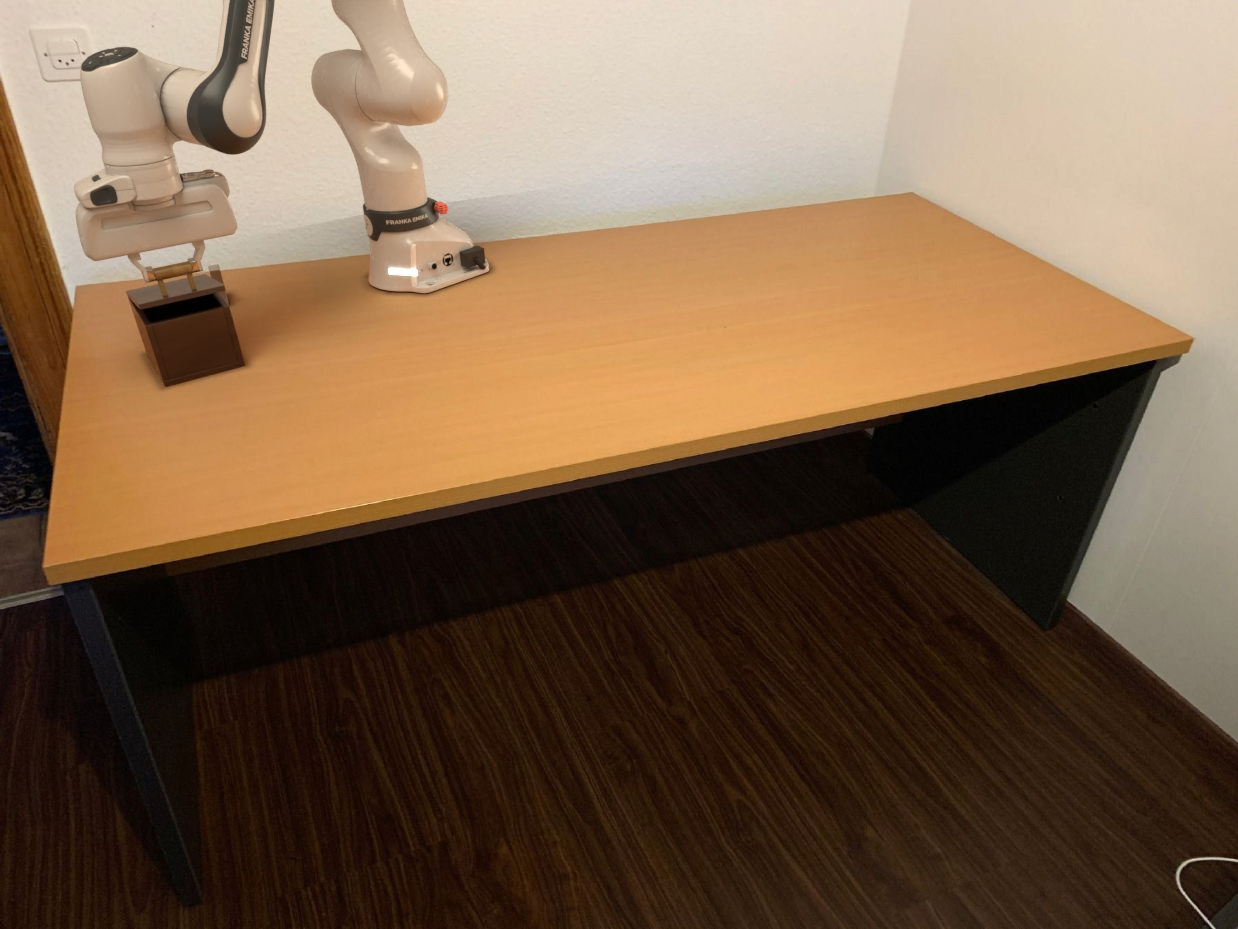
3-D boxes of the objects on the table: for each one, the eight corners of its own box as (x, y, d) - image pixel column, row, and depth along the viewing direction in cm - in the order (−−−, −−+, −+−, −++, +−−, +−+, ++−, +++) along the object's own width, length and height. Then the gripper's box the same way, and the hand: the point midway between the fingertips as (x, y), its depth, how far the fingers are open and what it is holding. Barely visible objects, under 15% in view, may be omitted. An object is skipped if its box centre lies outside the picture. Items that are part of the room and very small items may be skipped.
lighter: (216, 297, 165) (205, 254, 160) (227, 295, 165) (215, 253, 161) (220, 311, 159) (208, 268, 155) (230, 310, 160) (219, 266, 156)
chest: (245, 365, 142) (229, 306, 137) (165, 387, 137) (145, 326, 131) (222, 335, 151) (207, 278, 146) (146, 354, 146) (127, 296, 141)
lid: (225, 290, 135) (215, 257, 133) (140, 309, 129) (128, 275, 127) (207, 278, 146) (197, 247, 144) (127, 296, 140) (116, 264, 138)
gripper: (218, 162, 132) (240, 254, 140) (60, 187, 122) (94, 284, 130) (229, 171, 128) (252, 266, 135) (67, 198, 118) (101, 298, 126)
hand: (173, 275), depth 132 cm, fingers closed on lid, 5 cm apart
